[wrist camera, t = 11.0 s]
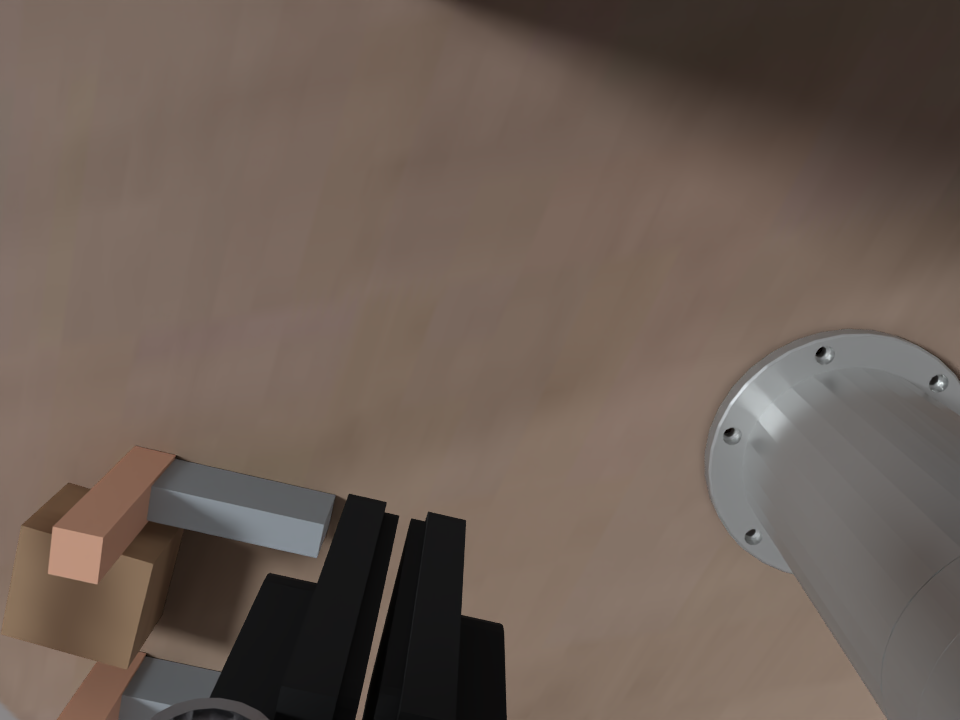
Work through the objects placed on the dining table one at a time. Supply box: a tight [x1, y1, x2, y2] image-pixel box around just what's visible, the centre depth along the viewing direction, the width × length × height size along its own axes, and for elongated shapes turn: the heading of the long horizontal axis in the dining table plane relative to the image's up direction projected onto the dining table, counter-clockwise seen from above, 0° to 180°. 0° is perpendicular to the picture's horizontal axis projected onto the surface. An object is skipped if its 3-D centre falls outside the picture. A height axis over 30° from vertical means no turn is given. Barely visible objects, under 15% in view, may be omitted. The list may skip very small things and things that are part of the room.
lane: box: [48, 446, 335, 720], centre depth 39 cm, size 10×14×8 cm
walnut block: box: [1, 483, 184, 670], centre depth 40 cm, size 6×6×4 cm
